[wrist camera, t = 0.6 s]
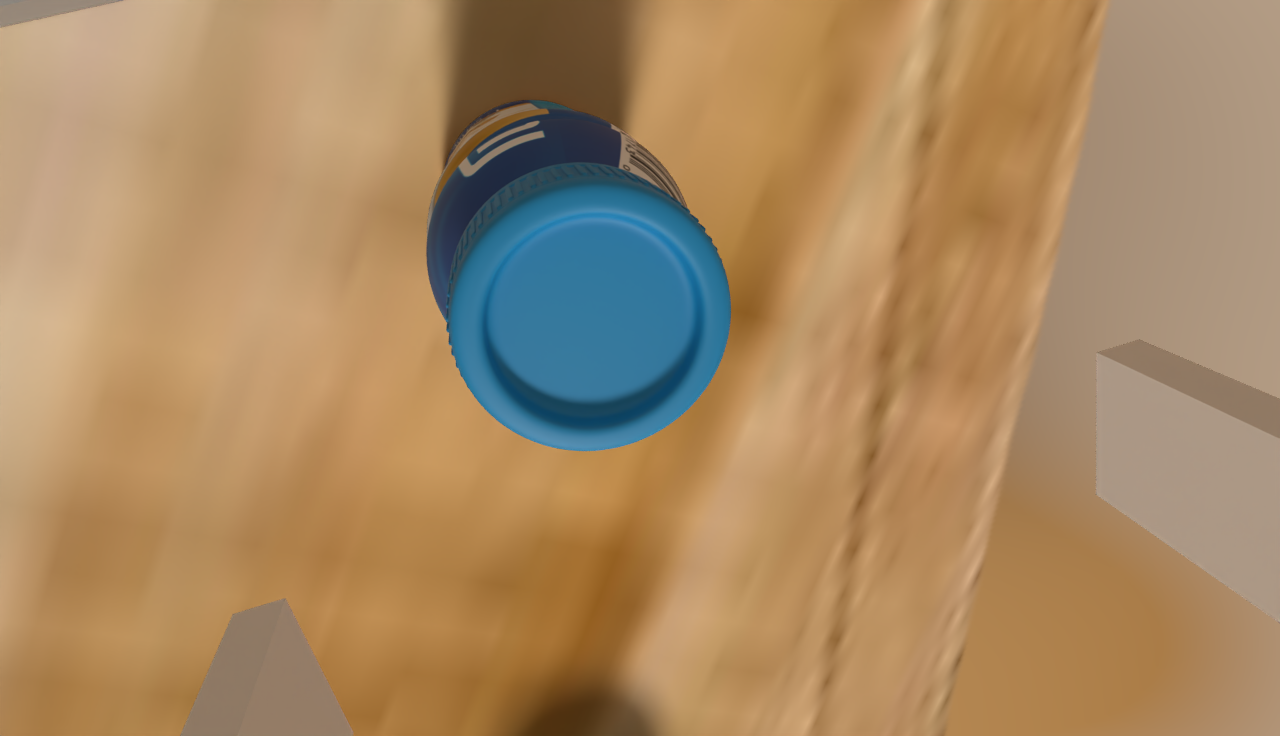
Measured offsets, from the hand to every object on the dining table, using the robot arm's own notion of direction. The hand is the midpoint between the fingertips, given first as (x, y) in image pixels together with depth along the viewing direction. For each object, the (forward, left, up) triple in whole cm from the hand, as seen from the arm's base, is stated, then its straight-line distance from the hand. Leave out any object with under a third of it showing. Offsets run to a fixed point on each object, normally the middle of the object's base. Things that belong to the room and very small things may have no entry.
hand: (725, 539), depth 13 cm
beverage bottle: (-1, +2, -27) cm, 27 cm away
